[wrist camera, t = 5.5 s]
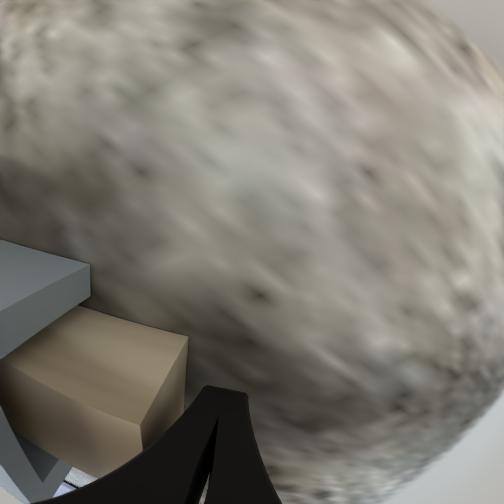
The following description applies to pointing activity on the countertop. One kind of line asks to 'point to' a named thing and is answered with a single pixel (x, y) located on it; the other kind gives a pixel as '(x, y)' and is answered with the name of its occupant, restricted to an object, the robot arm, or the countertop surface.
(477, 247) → the countertop surface
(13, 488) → the slate block
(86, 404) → the birch bar
